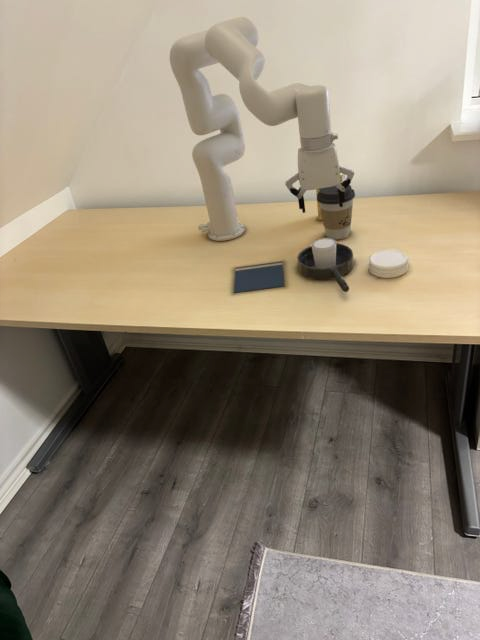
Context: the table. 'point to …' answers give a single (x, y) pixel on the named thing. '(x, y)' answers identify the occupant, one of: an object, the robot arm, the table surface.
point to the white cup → (324, 252)
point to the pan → (310, 271)
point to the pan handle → (339, 279)
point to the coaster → (388, 263)
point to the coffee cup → (336, 211)
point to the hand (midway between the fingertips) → (322, 208)
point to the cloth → (259, 277)
